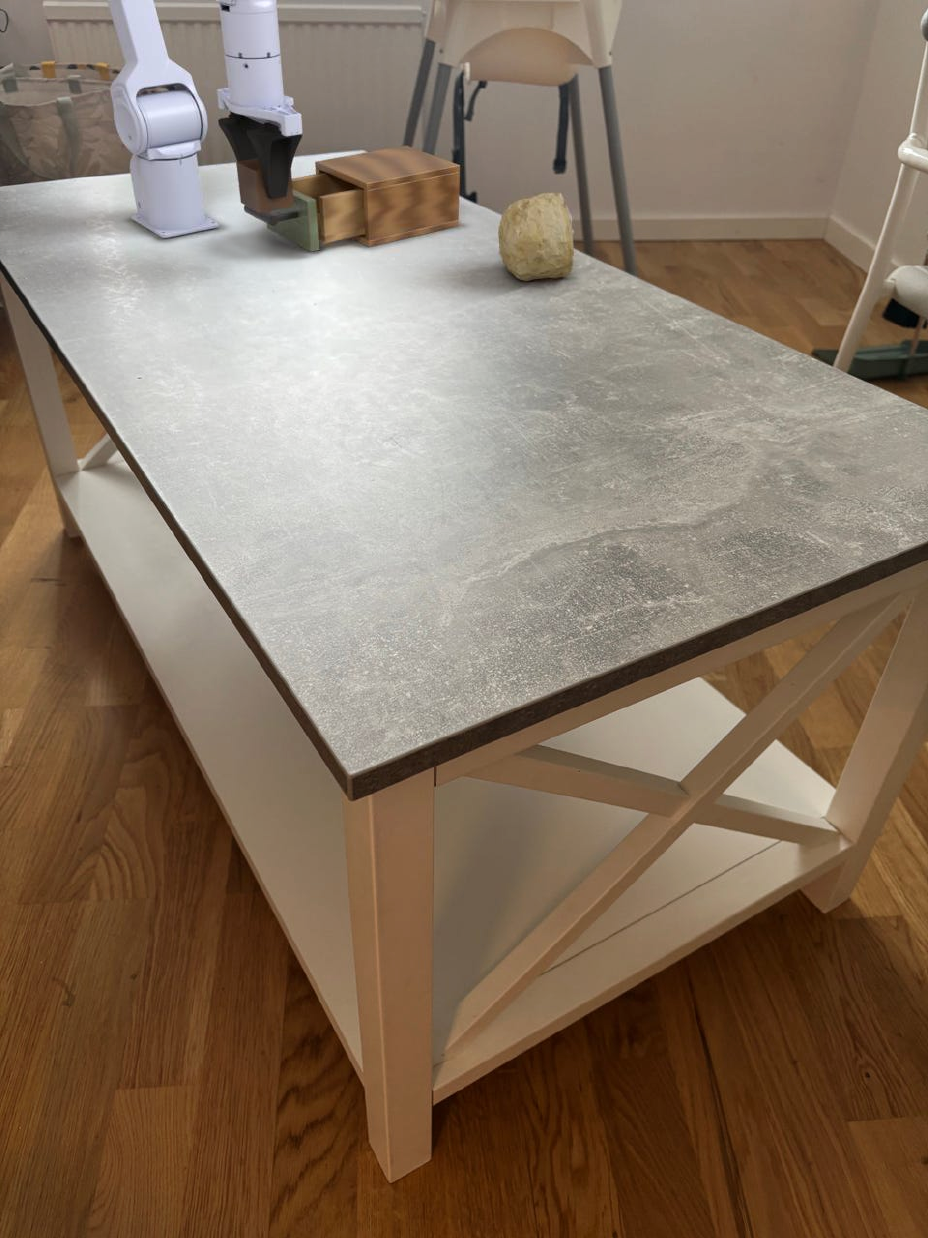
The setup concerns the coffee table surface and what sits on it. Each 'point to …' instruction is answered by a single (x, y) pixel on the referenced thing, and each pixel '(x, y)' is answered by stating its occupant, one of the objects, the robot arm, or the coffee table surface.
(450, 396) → the coffee table surface
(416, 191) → the cabinet
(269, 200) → the block
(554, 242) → the beige lumpy stone
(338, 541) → the coffee table surface
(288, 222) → the drawer
